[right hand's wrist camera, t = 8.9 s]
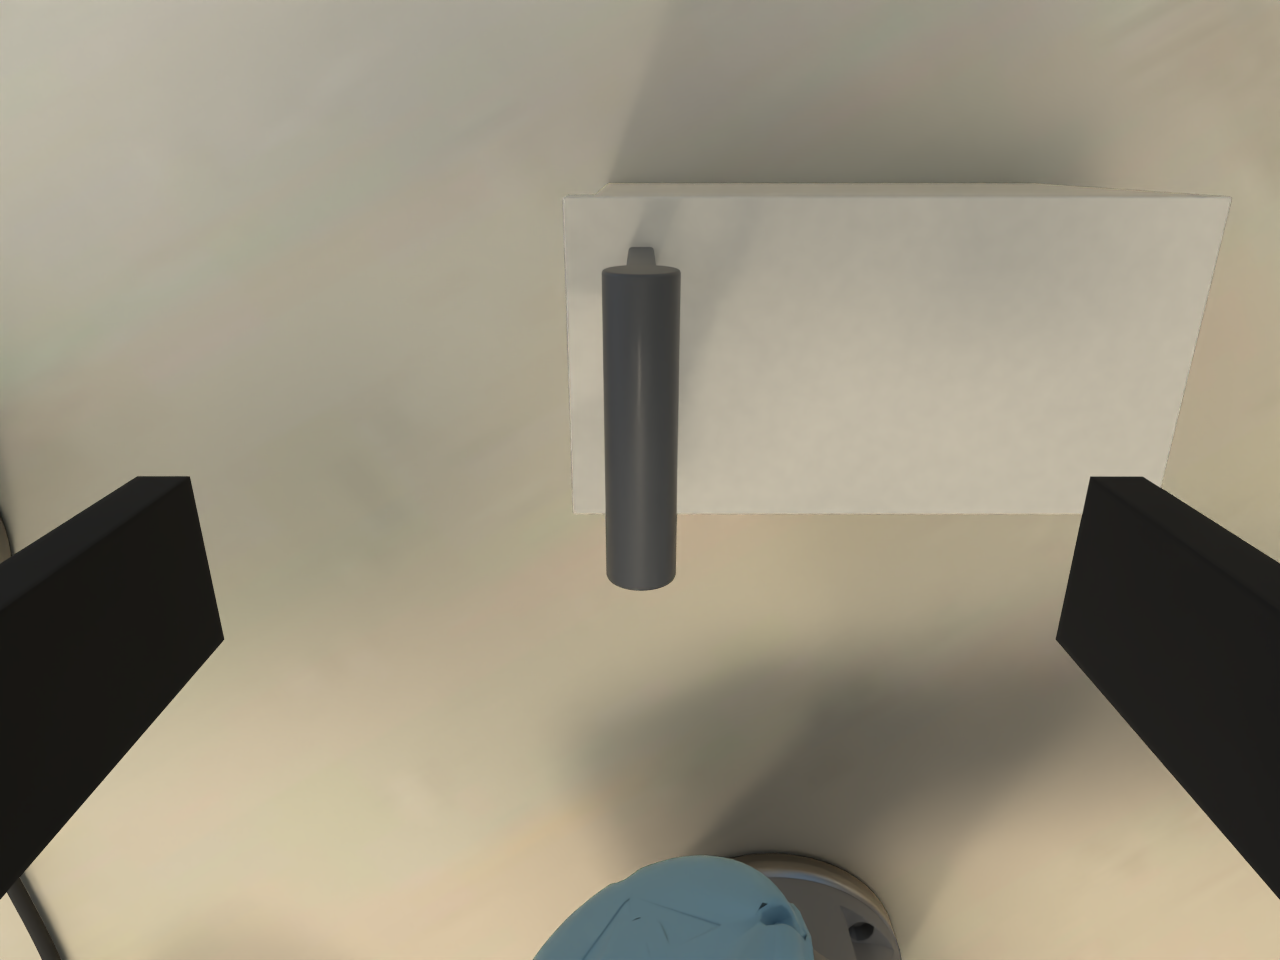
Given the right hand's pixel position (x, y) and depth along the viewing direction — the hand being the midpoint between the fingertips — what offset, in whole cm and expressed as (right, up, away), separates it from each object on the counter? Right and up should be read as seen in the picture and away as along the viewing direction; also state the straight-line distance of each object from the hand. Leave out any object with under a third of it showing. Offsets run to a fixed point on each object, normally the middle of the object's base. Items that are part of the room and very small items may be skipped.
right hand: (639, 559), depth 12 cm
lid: (+7, +5, +13) cm, 15 cm away
